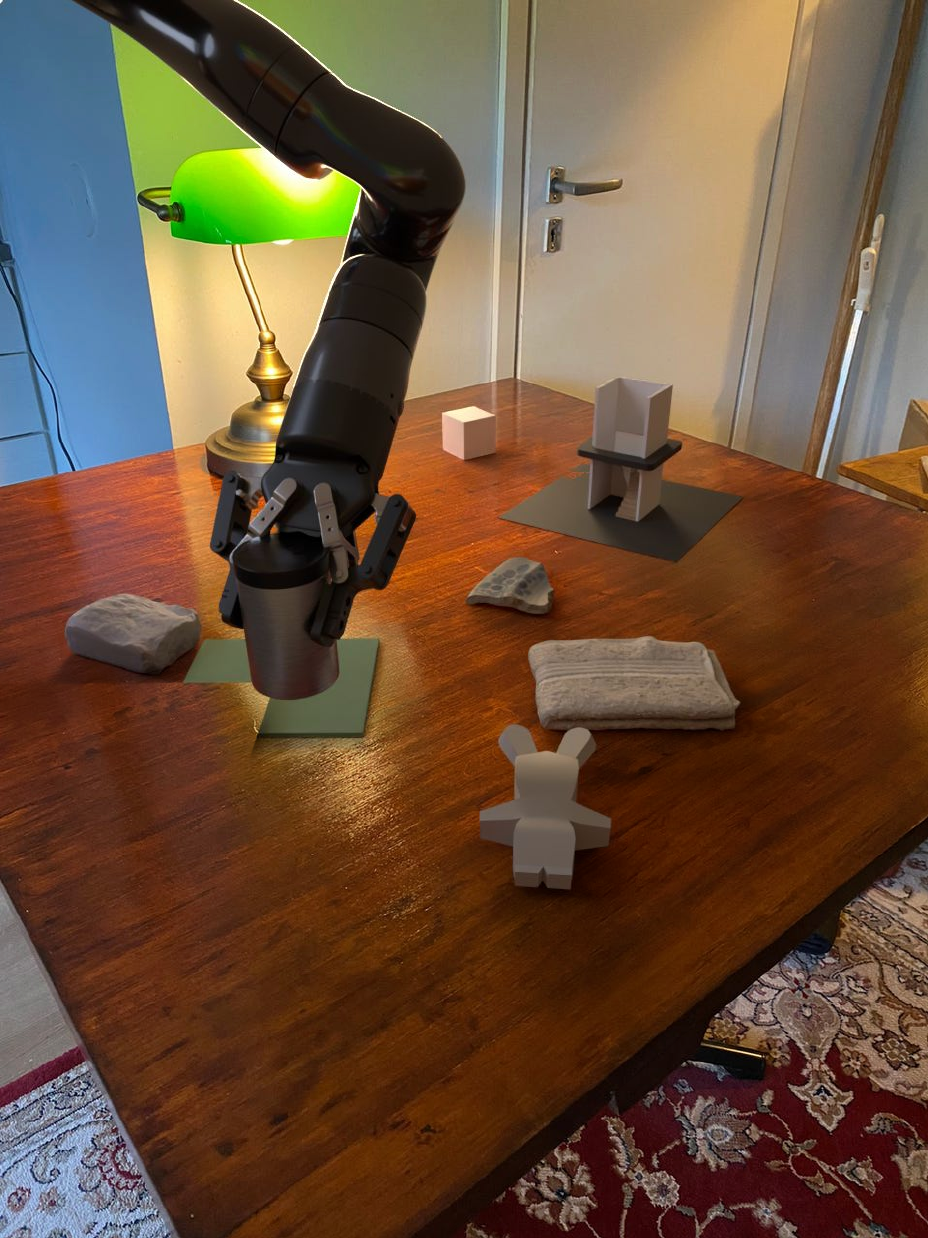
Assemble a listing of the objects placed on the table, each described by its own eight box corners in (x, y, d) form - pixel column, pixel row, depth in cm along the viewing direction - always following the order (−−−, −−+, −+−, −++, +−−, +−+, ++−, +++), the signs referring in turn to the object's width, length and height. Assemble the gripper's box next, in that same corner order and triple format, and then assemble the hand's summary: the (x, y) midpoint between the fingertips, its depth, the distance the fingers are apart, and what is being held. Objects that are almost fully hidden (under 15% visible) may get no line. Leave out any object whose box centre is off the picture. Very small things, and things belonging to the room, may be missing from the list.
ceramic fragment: (543, 613, 94) (460, 580, 98) (538, 637, 96) (457, 604, 100) (584, 571, 102) (506, 542, 106) (579, 594, 104) (503, 565, 108)
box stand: (497, 517, 120) (498, 395, 112) (581, 463, 138) (588, 354, 130) (676, 562, 108) (691, 428, 100) (743, 496, 126) (761, 378, 118)
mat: (158, 738, 79) (157, 733, 79) (204, 643, 93) (204, 639, 93) (363, 737, 79) (363, 732, 79) (379, 642, 93) (379, 637, 93)
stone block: (130, 626, 100) (57, 654, 91) (129, 585, 98) (55, 609, 89) (217, 653, 95) (149, 685, 87) (218, 611, 94) (148, 639, 85)
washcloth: (743, 733, 79) (748, 704, 77) (538, 737, 79) (539, 708, 77) (708, 660, 89) (712, 633, 88) (526, 664, 89) (527, 637, 88)
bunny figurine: (473, 853, 61) (489, 704, 73) (474, 900, 64) (489, 750, 76) (615, 862, 60) (608, 710, 72) (609, 909, 63) (603, 756, 75)
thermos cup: (241, 701, 60) (221, 572, 55) (261, 652, 65) (244, 531, 61) (333, 701, 60) (321, 572, 55) (345, 652, 65) (334, 531, 60)
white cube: (464, 460, 140) (463, 422, 137) (442, 449, 144) (441, 412, 141) (495, 452, 143) (495, 415, 140) (473, 442, 147) (473, 405, 144)
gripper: (230, 366, 62) (151, 599, 58) (426, 385, 57) (353, 639, 53) (280, 420, 69) (212, 631, 65) (457, 441, 64) (395, 668, 60)
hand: (276, 633), depth 59 cm, fingers closed on thermos cup, 6 cm apart
